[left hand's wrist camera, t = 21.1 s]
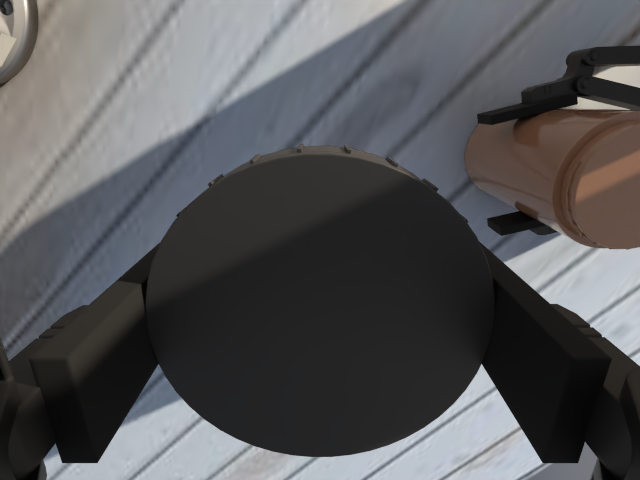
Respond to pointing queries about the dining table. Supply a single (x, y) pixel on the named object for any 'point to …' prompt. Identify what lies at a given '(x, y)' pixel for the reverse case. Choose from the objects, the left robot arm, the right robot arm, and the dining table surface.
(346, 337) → the lid
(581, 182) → the jar
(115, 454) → the dining table surface
